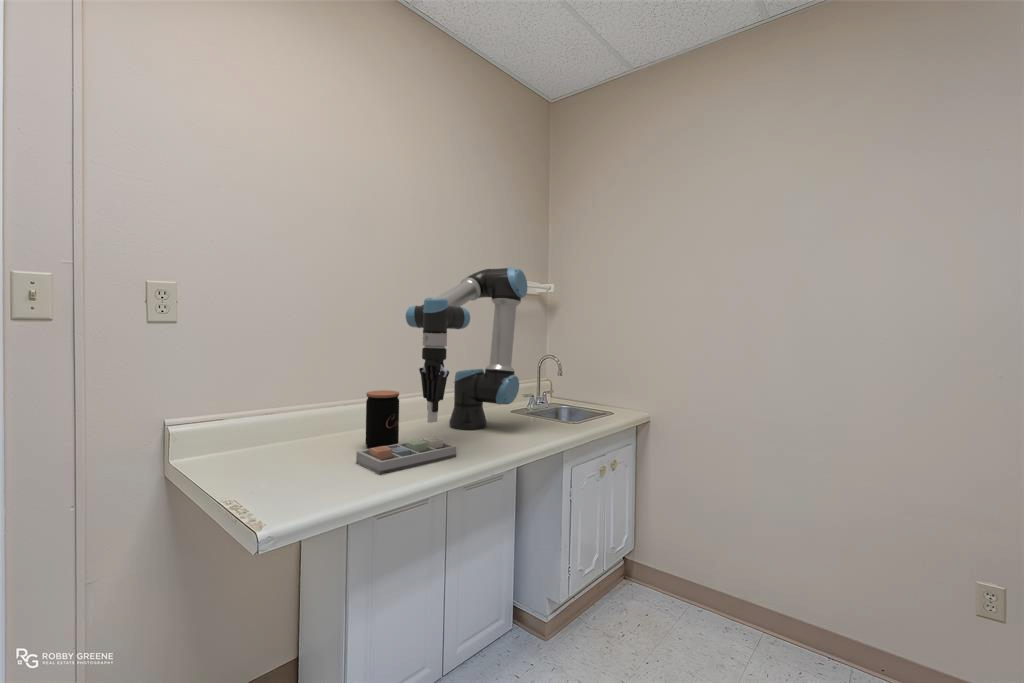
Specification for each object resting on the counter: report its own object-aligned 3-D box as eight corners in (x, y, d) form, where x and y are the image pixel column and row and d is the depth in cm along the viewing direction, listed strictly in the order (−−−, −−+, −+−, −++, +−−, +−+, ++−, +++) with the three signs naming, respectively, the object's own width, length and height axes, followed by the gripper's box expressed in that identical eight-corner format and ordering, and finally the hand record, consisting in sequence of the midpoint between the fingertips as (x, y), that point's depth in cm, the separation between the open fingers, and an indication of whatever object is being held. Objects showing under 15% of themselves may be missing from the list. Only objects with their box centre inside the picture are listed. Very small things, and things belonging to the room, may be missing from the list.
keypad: (430, 447, 153) (430, 437, 153) (456, 457, 143) (456, 446, 143) (356, 462, 134) (356, 451, 134) (380, 474, 125) (380, 462, 124)
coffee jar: (389, 451, 147) (390, 395, 147) (359, 448, 149) (360, 393, 149) (403, 443, 158) (404, 391, 157) (375, 440, 160) (376, 389, 159)
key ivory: (434, 443, 148) (434, 436, 148) (442, 446, 145) (443, 438, 145) (422, 446, 145) (422, 438, 145) (430, 449, 142) (430, 441, 142)
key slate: (401, 454, 140) (401, 446, 140) (410, 457, 137) (410, 449, 136) (388, 457, 137) (388, 448, 136) (396, 460, 133) (396, 451, 133)
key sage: (418, 446, 144) (418, 438, 144) (427, 450, 141) (427, 441, 141) (405, 449, 141) (405, 441, 141) (414, 452, 137) (414, 444, 137)
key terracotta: (384, 453, 136) (384, 445, 135) (392, 457, 132) (392, 448, 132) (369, 456, 132) (369, 447, 132) (377, 460, 129) (377, 451, 129)
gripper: (412, 346, 146) (410, 419, 146) (436, 348, 137) (434, 426, 137) (432, 346, 151) (430, 417, 152) (456, 348, 142) (454, 423, 142)
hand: (432, 421), depth 144 cm, fingers closed
